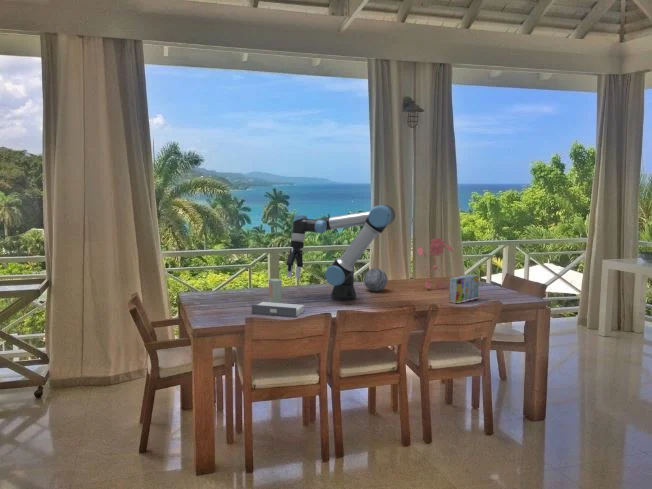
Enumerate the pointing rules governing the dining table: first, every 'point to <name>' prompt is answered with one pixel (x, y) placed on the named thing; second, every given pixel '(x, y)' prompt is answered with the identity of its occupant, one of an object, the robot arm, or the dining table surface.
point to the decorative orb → (375, 279)
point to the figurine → (437, 249)
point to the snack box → (463, 287)
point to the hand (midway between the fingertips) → (293, 277)
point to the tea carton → (275, 290)
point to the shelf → (277, 309)
